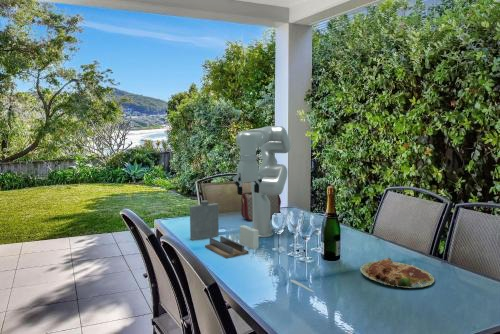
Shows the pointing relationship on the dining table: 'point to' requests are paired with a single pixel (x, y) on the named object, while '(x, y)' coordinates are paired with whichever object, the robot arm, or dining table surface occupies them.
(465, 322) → the dining table surface
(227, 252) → the track
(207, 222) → the hip flask
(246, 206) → the handbag
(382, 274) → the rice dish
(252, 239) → the door panel
